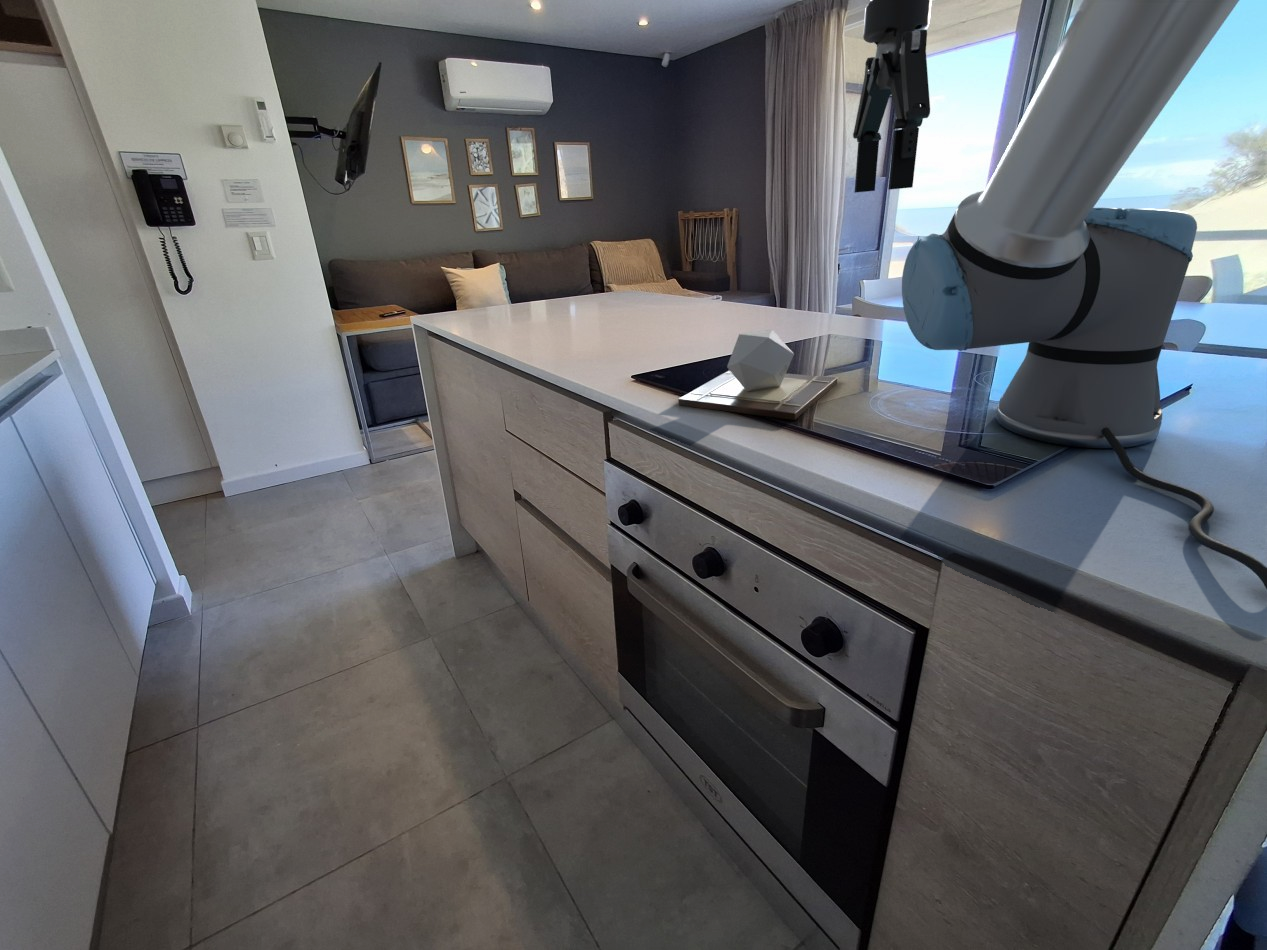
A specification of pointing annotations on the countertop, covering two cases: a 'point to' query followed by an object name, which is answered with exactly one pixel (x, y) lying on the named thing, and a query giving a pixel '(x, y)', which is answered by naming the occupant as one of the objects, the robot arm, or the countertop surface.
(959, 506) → the countertop surface
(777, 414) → the board
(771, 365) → the die
